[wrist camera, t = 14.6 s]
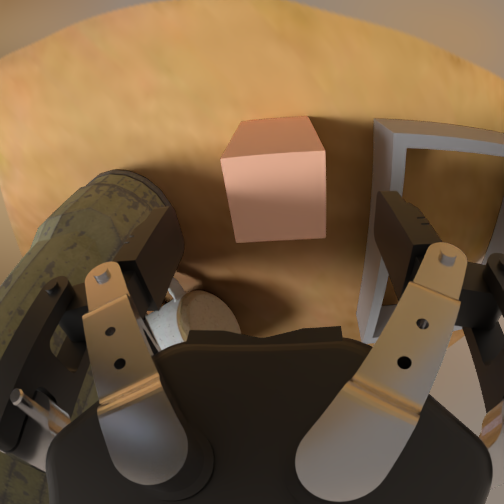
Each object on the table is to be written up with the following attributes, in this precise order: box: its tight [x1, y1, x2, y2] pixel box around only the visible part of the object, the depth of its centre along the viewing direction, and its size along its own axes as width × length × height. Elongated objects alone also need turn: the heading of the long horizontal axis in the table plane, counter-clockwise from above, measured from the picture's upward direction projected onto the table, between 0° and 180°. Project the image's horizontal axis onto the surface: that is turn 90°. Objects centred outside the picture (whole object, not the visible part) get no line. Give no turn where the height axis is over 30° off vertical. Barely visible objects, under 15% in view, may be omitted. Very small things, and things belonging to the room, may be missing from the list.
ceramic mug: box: [145, 277, 241, 350], centre depth 24 cm, size 11×8×8 cm
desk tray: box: [356, 119, 504, 344], centre depth 18 cm, size 18×14×4 cm
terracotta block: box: [220, 116, 326, 243], centre depth 14 cm, size 4×4×7 cm
